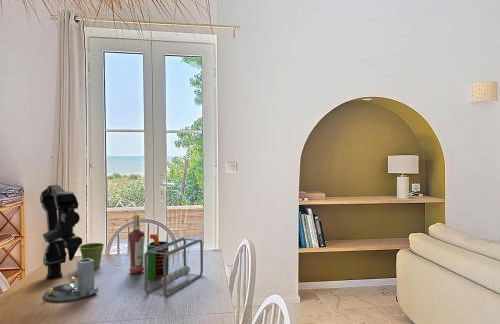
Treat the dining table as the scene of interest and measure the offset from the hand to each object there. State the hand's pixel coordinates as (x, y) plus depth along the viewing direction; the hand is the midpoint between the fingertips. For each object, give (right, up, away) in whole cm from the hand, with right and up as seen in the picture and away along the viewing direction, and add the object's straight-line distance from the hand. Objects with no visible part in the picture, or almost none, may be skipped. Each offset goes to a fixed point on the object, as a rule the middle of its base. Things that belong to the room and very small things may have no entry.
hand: (66, 258), depth 160 cm
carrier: (+4, -13, -4) cm, 14 cm away
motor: (+35, -13, +15) cm, 40 cm away
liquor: (+24, -13, +22) cm, 34 cm away
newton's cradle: (+46, -13, +5) cm, 48 cm away
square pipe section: (+11, -12, -6) cm, 18 cm away
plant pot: (-1, -12, +29) cm, 32 cm away
